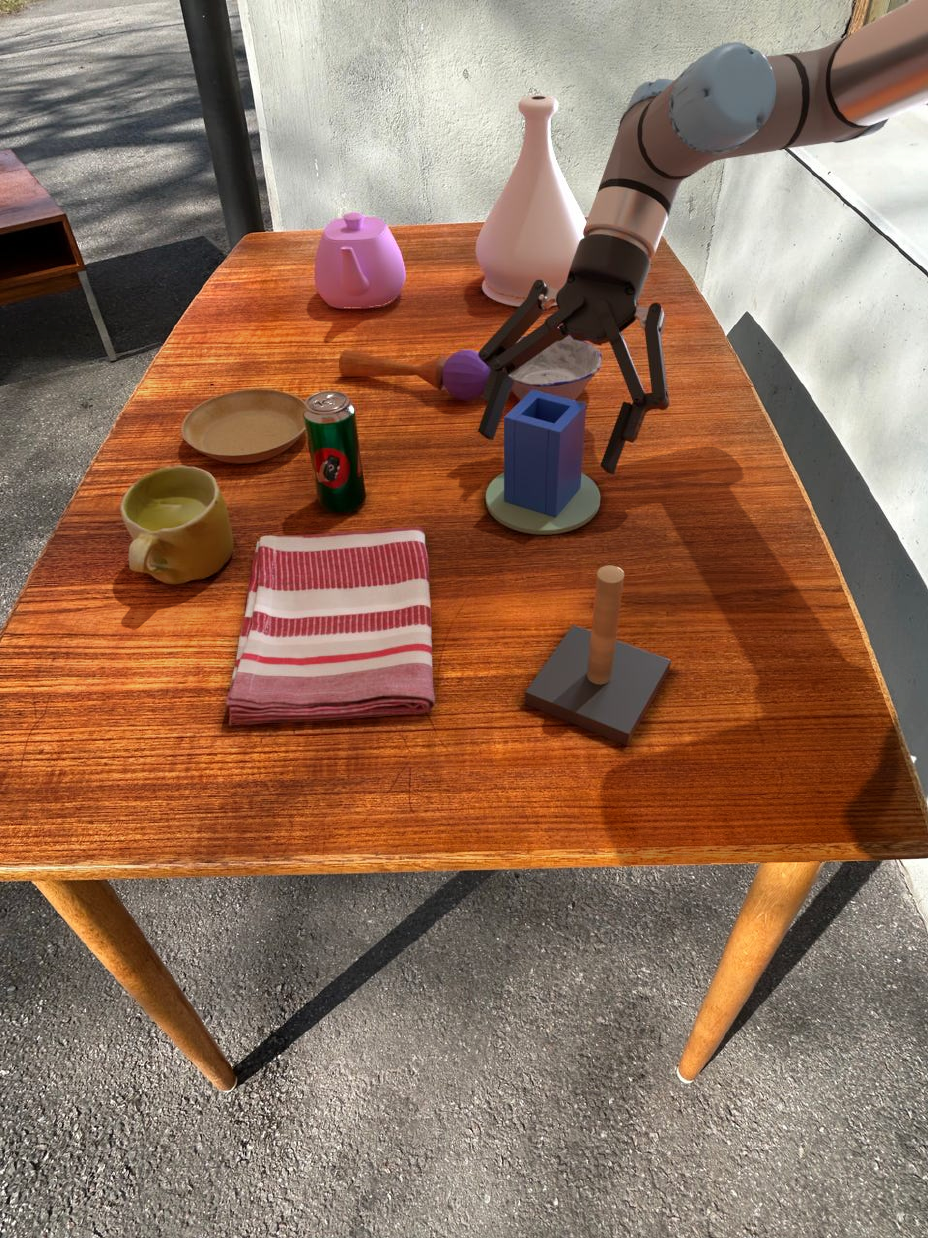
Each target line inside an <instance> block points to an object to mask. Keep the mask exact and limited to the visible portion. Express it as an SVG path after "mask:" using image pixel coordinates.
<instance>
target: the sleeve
mask: <svg viewBox="0 0 928 1238" xmlns="http://www.w3.org/2000/svg"><path fill="white" fill-rule="evenodd" d="M587 404H588V403H586V402H582V401H578V400H576V399H575V400H571V399H567V398H563V397H559V396H555V395H551V394H547V393H543V392H540V391H536V390H531V391H530V392H529V393H528V394H527V395H526V396H525V397H524V398H523V399H522V400H521V401H520V400H519V402H518V403H517V404H516V405H515V406H514V407H513V408H511V410H509V412H507V413H506V414H505V416H503V472H504V502H507V503H510V504H513V505H517V506H520V507H523V508H526V509H530V510H533V511H536V512H539V513H542V514H546V515H549V516H552V517H555V518H556V517H557V515H558V514H559V513H560V512H561V511H562V509H563V508H564V507H565V506H566V504H567V503H568V502H569V501H570V500H571V498H572V497H573V496H574V495H575V494H576V492H577V491H578V490H579V489H580V487H581V473H583V456H584V444H585V433H586V432H585V430H586V416H587Z"/></svg>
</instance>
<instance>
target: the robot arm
mask: <svg viewBox="0 0 928 1238" xmlns="http://www.w3.org/2000/svg"><path fill="white" fill-rule="evenodd" d="M927 104H928V0H909V1H907V2H905V3H903V4H902V5H900V6H898V7H896V8H895V9H893V10H891V11H889V12H887V13H885V14H883V15H882V16H880V17H878V18H875V19H874V20H873V21H871V22H869V23H867V24H865V25H863V26H861V27H859V28H858V29H856V30H854V31H853V32H851V33H850V34H848V35H845V36H843V37H842V38H840V39H838V40H836V41H834V42H832V43H831V44H829V45H826V46H824V47H821V48H818V49H814V50H813V49H812V50H806V51H801V52H794V53H793V52H792V53H783V54H775V55H766V56H765V55H764V54H763V53H762V52H761V51H760V50H759V49H755V48H753V47H751V46H749V45H746V43H743V42H739V41H734V42H726V43H723V44H720V45H718V46H716V47H714V48H712V49H711V50H710V51H709V52H707V53H706V54H704V55H701V56H699V57H698V58H697V59H696V61H693V62H691V63H690V64H689V65H688V67H686V68H685V69H684V70H683V72H682V73H681V74H680V75H678V77H676V78H675V79H669V78H657V79H656V80H655V81H651V80H649V81H645V82H643V83H641V84H640V85H639V86H638V87H636V89H635V91H634V92H633V94H632V95H631V98H630V100H629V103H628V105H627V107H626V109H625V111H623V113H622V116H621V118H620V120H619V125H618V128H617V130H618V132H617V134H616V136H615V139H614V142H613V145H612V148H611V151H610V154H609V157H608V160H607V162H606V166H605V168H604V170H603V174H602V178H601V180H600V183H599V186H598V189H597V192H596V195H595V198H594V201H593V203H592V206H591V208H590V211H589V214H588V216H587V219H586V224H585V227H584V229H583V236H584V238H583V239H581V240H580V242H579V244H578V247H577V250H576V253H575V256H574V258H573V261H572V264H571V267H570V270H569V273H568V277H567V281H566V283H565V284H564V286H563V287H562V288H561V289H560V290H558V289H555V288H552V287H549V286H547V285H545V283H544V282H543V280H540V279H539V280H536V281H535V282H534V284H533V286H532V288H531V290H530V292H529V294H528V296H527V299H526V300H525V301H524V302H523V303H522V304H521V305H520V306H518V307H517V308H516V310H515V311H514V312H513V313H512V314H511V315H510V316H509V317H508V318H507V320H506V321H504V323H503V324H502V325H501V326H500V327H499V328H498V330H497V331H496V332H495V333H494V334H493V335H492V337H490V338H489V340H488V341H487V342H486V343H485V344H483V346H482V347H481V349H479V351H478V356H479V358H480V359H481V360H482V361H483V362H484V363H485V364H486V365H487V366H488V367H490V369H491V372H490V375H489V378H488V381H487V384H486V386H485V390H484V392H483V395H482V401H484V402H485V404H486V406H485V409H484V412H483V414H482V417H481V420H480V422H479V426H478V429H477V432H478V433H479V434H480V435H482V436H483V437H484V438H485V439H487V440H491V441H494V439H495V436H496V433H497V430H498V428H499V425H500V423H501V419H502V417H503V413H504V411H505V408H506V405H507V402H508V399H509V397H510V394H511V391H512V389H511V388H512V385H513V383H514V381H513V380H512V379H511V378H510V377H509V375H510V374H511V373H513V372H514V371H515V370H517V369H518V368H520V367H521V366H522V365H524V364H525V363H527V362H528V361H529V360H531V359H532V358H534V357H535V356H536V355H538V354H539V353H541V352H542V351H544V350H545V349H546V348H548V347H549V346H551V345H552V344H553V343H555V342H556V341H561V340H563V339H564V338H566V337H567V336H571V337H572V338H573V340H578V341H585V342H590V344H592V345H595V346H599V347H600V346H602V345H604V344H607V343H609V344H610V346H611V349H612V352H613V354H614V356H615V360H616V362H617V364H618V368H619V369H620V372H621V375H622V377H623V379H624V383H625V385H626V388H627V390H628V393H629V395H630V397H631V401H632V403H631V402H628V401H622V404H621V406H620V410H619V412H618V415H617V418H616V421H615V423H614V426H613V429H612V431H611V434H610V438H609V440H608V443H607V446H606V449H605V451H604V454H603V457H602V460H601V462H600V467H601V468H602V470H603V471H604V472H606V473H607V474H611V475H614V474H615V472H616V469H617V466H618V463H619V460H620V458H621V454H622V452H623V450H624V446H625V444H626V442H629V443H634V442H635V441H636V440H637V438H638V436H639V433H640V431H641V428H642V425H643V423H644V420H645V417H646V414H647V413H649V412H650V411H653V410H660V411H665V410H667V409H668V408H669V407H670V396H669V388H668V379H667V372H666V371H667V370H666V363H665V356H664V355H665V354H664V347H663V339H662V338H663V337H662V335H663V330H664V326H665V322H666V316H665V313H664V310H663V308H662V305H661V304H660V303H659V302H653V303H651V304H650V305H649V306H645V305H639V299H640V297H641V295H642V292H643V289H644V286H645V283H646V281H647V278H648V275H649V272H650V270H651V265H652V263H651V260H652V259H653V258H654V257H655V254H656V253H657V249H658V247H659V243H660V241H661V238H662V235H663V232H664V230H665V227H666V225H667V221H668V220H669V216H670V214H671V210H672V207H673V204H674V202H675V199H676V196H677V194H678V192H679V189H680V187H681V184H682V182H683V181H684V180H686V179H688V178H689V177H691V176H692V175H694V174H696V173H698V172H699V171H701V170H702V169H704V168H705V167H707V166H708V165H710V164H712V163H714V162H717V161H720V160H725V159H731V158H739V157H744V156H745V157H746V156H751V155H757V154H758V155H759V154H765V153H770V152H776V151H783V150H786V149H793V148H800V147H807V146H808V147H809V146H814V145H821V144H822V145H823V144H828V143H835V144H841V143H845V142H849V141H854V140H856V139H860V138H862V137H866V136H870V135H872V134H875V133H877V132H878V131H880V130H881V129H883V128H884V126H885V125H886V124H887V122H888V121H889V120H890V118H893V117H896V116H898V115H902V114H904V113H906V112H910V111H911V110H914V109H917V108H919V107H922V106H925V105H927ZM556 302H557V305H556V306H557V310H556V311H555V312H553V313H552V314H551V315H549V316H548V317H546V318H545V320H544V321H543V323H542V324H541V325H539V326H538V327H536V328H535V329H534V330H533V331H531V332H529V333H528V334H527V335H525V334H526V333H527V332H528V330H529V329H530V328H531V327H532V326H533V325H534V324H535V323H536V322H537V321H538V320H539V318H540V317H541V316H542V314H543V313H544V311H545V310H549V309H550V308H551V307H552V306H551V305H552V304H553V303H556ZM636 320H638V321H639V325H640V327H641V329H642V331H644V335H645V346H646V354H647V355H646V356H647V362H648V371H649V378H650V386H651V387H650V388H651V392H648V393H647V392H645V389H644V387H643V384H642V381H641V379H640V376H639V374H638V371H637V369H636V366H635V364H634V362H633V359H632V357H631V354H630V351H629V348H628V345H627V343H626V341H625V338H624V335H623V333H622V332H624V330H626V329H628V327H630V326H631V325H632V324H633V323H635V322H636ZM524 335H525V336H526V337H525V336H524ZM522 337H524V338H523V339H521V340H520V341H519V342H517V341H518V340H519V339H520V338H522ZM516 342H517V343H516Z"/></svg>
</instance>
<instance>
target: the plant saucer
mask: <svg viewBox="0 0 928 1238" xmlns="http://www.w3.org/2000/svg"><path fill="white" fill-rule="evenodd" d="M304 409H305V401H304V399H302V398H300V397H299V396H297V395H296V394H293V393H290V392H287V391H283V390H279V389H272V388H246V389H239V390H233V391H229V392H225V393H222V394H219V395H216V396H214V397H211V398H209V399H207V400H205V401H202V402H201V403H199V404H198V405H196V406H195V407H193V408H192V410H191V411H189V412H188V413H187V414H186V416H185V417H184V419H183V421H182V423H181V426H180V431H181V435H182V436H181V437H182V438H183V439H184V441H185V442H186V443H187V444H188V445H189V446H190V447H192V448H193V449H195V450H196V451H198V452H199V453H201V454H203V455H204V456H207V457H209V458H211V459H214V460H217V461H219V462H223V463H229V464H239V465H240V464H252V463H259V462H263V461H266V460H270V459H272V458H274V457H277V456H279V455H281V454H282V453H284V452H285V451H287V450H288V449H289V448H291V446H293V445H294V444H295V443H296V441H298V440H299V438H300V437H302V435H303V434H304V432H305V431H306V430H305V424H304V419H303V411H304Z"/></svg>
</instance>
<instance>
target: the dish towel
mask: <svg viewBox="0 0 928 1238" xmlns="http://www.w3.org/2000/svg"><path fill="white" fill-rule="evenodd" d="M247 586H248V587H247V591H246V606H245V611H244V616H243V617H244V618H243V622H242V626H241V629H240V633H239V638H238V645H237V652H236V658H235V664H234V668H233V672H232V676H231V681H230V687H229V691H228V693H227V697H226V699H225V703H224V704H225V707H228V710H229V712H228V714H229V719H228V724H229V726H237V725H238V726H239V725H249V726H250V725H251V726H252V725H258V724H259V725H260V724H267V723H269V724H270V723H281V724H282V723H292V722H293V723H294V722H295V723H296V722H298V723H299V722H300V723H301V722H322V721H338V720H350V719H363V718H364V719H365V718H372V717H375V718H376V717H378V718H379V717H387V716H401V715H402V716H403V715H418V714H425V713H428V712H431V710H432V709H433V708H435V705H436V702H435V701H436V696H435V691H434V674H433V673H434V672H433V671H434V670H433V668H434V667H433V641H432V631H433V630H432V620H433V619H432V607H431V606H432V605H431V593H430V563H429V553H428V549H427V546H426V533H425V530H424V529H423V528H422V527H420V526H406V527H392V528H391V527H390V528H385V529H383V528H382V529H372V530H371V529H370V530H352V531H337V532H336V531H335V532H328V533H315V534H281V535H280V534H279V535H271V534H270V535H261V537H260V538H259V540H258V541H256V546H255V551H254V554H253V559H252V563H251V568H250V574H249V579H248V585H247Z"/></svg>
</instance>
